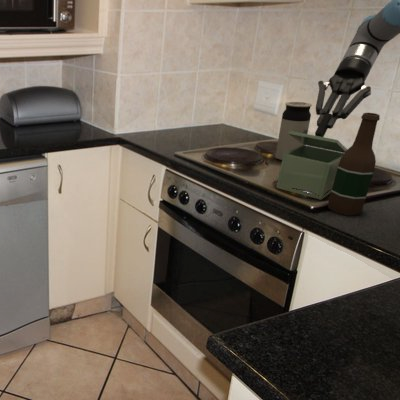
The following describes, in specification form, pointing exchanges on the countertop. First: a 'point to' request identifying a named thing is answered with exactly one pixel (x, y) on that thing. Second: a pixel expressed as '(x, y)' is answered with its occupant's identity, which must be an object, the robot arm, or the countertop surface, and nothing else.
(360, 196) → the beer bottle
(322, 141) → the canister lid
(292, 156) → the green open box
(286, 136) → the travel mug
